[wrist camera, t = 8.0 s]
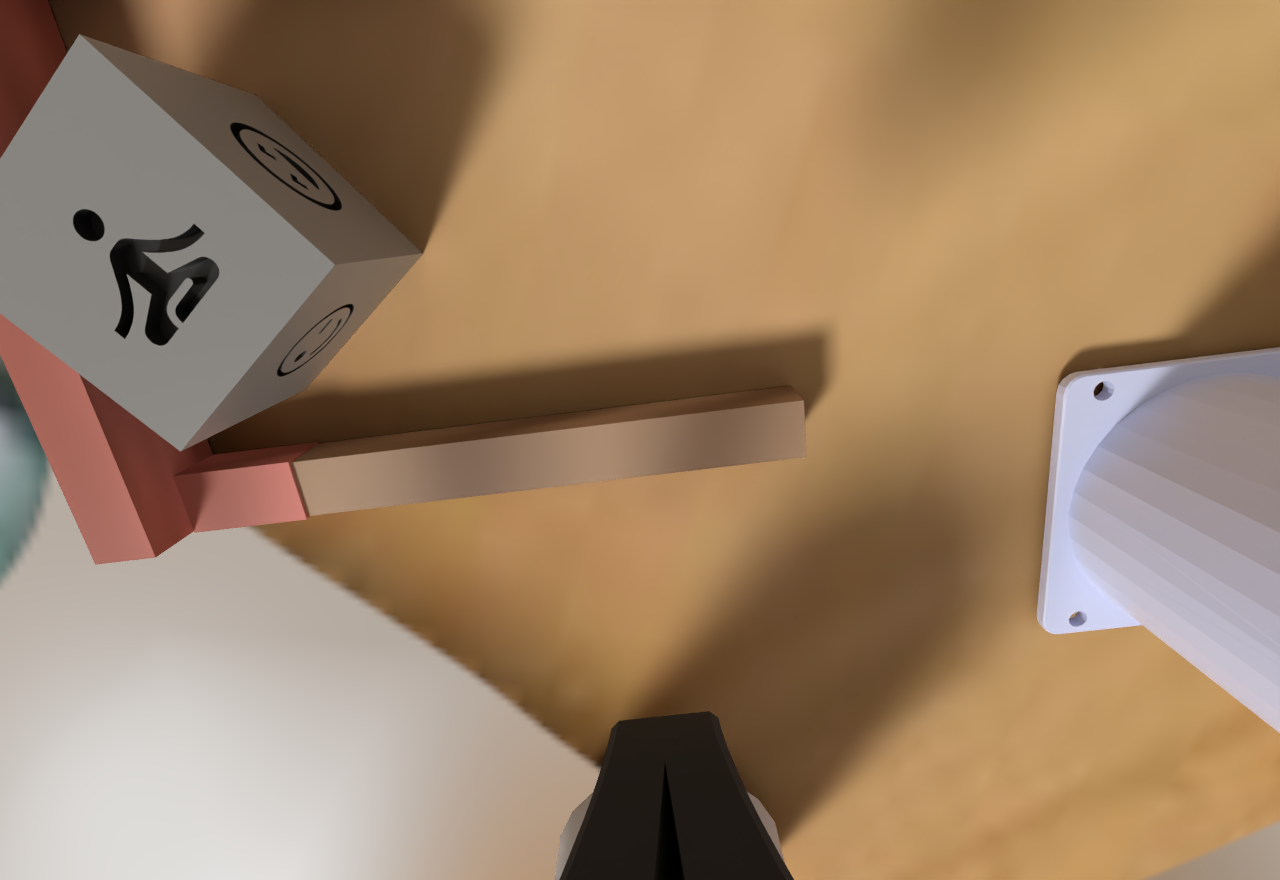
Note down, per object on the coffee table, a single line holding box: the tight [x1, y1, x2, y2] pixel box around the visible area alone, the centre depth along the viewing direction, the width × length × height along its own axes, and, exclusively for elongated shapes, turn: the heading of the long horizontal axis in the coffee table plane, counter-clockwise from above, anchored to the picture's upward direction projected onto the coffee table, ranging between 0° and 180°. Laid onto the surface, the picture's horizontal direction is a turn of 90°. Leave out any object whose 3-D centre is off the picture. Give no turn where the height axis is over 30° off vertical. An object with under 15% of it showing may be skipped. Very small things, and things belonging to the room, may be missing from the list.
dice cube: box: [0, 34, 423, 452], centre depth 14 cm, size 5×5×5 cm
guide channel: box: [0, 0, 806, 564], centre depth 14 cm, size 18×14×3 cm
